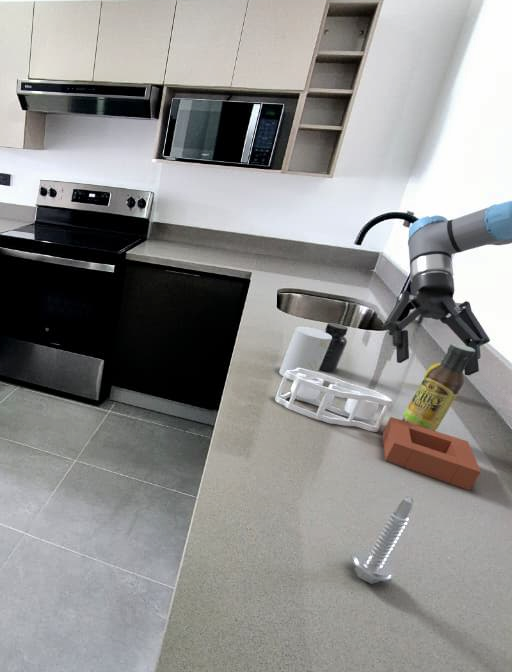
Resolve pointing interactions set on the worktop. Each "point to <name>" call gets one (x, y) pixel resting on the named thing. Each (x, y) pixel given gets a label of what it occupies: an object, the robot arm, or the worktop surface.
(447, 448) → the base pad
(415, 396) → the sauce bottle
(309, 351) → the cup
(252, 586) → the worktop surface
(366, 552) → the screw
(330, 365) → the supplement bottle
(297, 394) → the skeletal toy car
